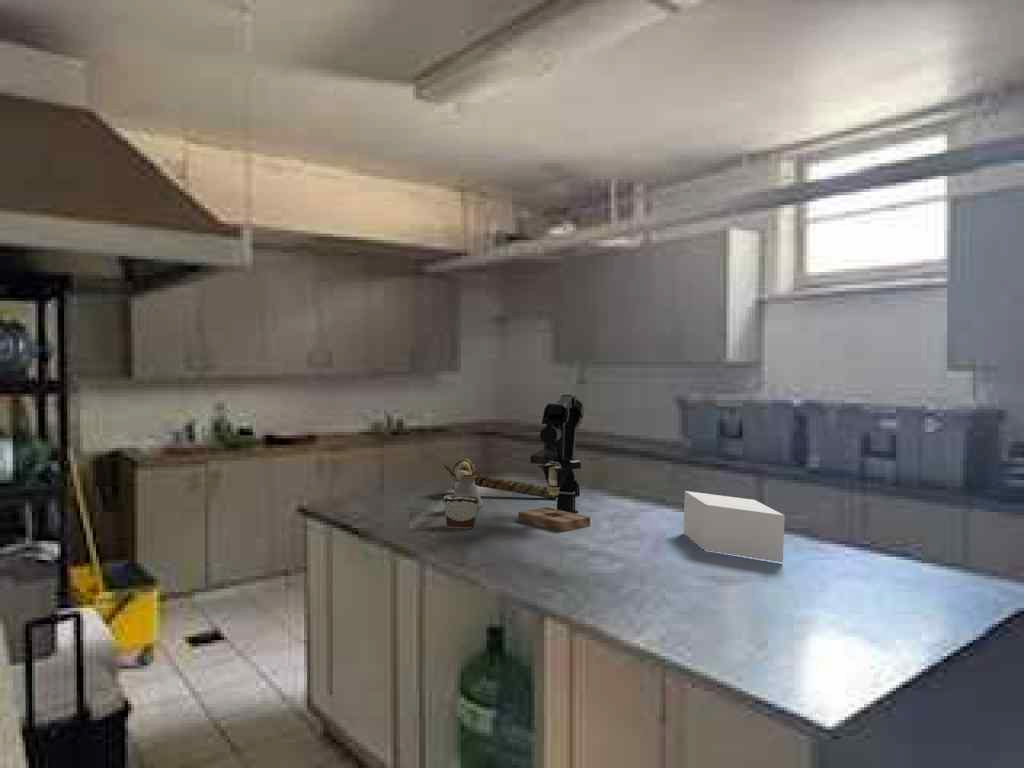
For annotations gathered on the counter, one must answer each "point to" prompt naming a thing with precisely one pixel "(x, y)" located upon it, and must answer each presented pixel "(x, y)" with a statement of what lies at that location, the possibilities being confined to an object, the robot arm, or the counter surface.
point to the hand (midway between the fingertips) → (554, 486)
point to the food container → (460, 510)
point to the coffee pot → (467, 486)
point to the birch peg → (553, 481)
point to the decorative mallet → (497, 481)
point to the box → (734, 526)
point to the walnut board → (554, 519)
